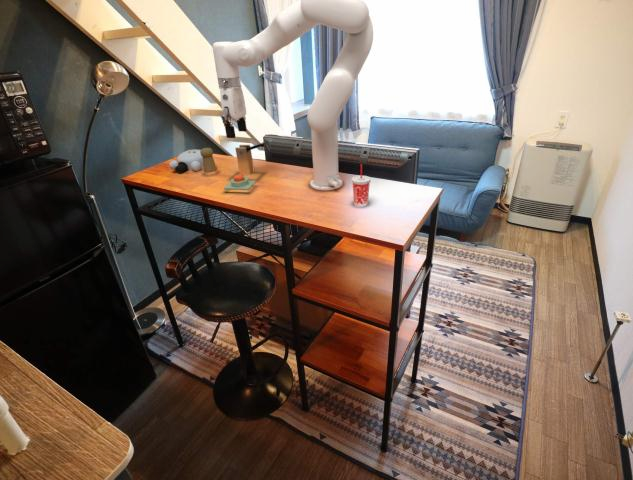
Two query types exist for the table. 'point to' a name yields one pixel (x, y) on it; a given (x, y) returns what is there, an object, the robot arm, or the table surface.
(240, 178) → the button
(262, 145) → the lever
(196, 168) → the figurine
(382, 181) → the table surface
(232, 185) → the button block
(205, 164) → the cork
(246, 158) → the bracket
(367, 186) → the beverage cup
